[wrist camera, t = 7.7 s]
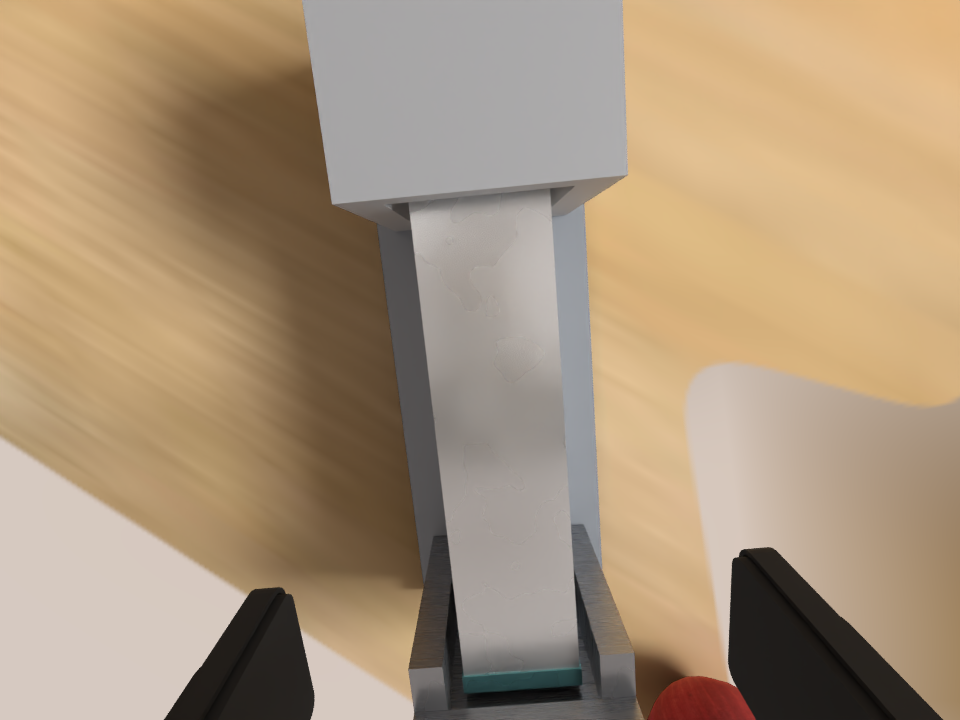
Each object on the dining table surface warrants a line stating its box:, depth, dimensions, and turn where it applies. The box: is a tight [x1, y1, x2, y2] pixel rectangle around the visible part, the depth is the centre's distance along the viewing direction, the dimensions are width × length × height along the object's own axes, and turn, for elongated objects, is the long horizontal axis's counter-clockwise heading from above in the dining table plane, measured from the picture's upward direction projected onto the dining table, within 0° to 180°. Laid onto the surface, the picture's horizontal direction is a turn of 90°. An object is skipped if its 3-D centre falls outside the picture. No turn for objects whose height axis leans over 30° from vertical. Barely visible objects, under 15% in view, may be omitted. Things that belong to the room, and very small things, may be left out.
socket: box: [408, 524, 644, 720], centre depth 17 cm, size 3×7×8 cm, turn 95°
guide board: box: [302, 0, 628, 583], centre depth 16 cm, size 24×8×9 cm, turn 5°
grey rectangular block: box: [408, 188, 583, 694], centre depth 16 cm, size 16×4×6 cm, turn 5°
